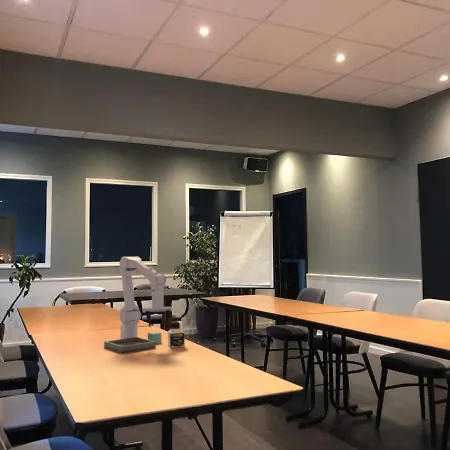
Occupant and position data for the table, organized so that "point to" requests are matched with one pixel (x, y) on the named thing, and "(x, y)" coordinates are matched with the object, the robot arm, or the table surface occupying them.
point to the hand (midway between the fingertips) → (157, 326)
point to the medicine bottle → (176, 335)
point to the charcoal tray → (129, 344)
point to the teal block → (155, 337)
